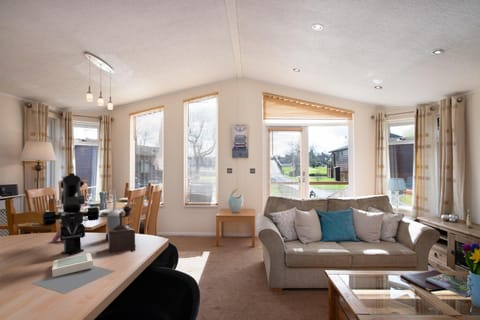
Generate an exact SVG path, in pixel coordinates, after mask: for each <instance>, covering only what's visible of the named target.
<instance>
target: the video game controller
mask: <svg viewBox="0 0 480 320" xmlns="http://www.w3.org/2000/svg"><path fill="white" fill-rule="evenodd" d="M62 237H63V236H62ZM58 240H60V241H61V229H59V230H58V231H57V232H56V234H55V235H54V236H53V238H52V239H51V241H52V243H57V241H58ZM62 241H63V242H64V240H62ZM62 241H61V242H62Z"/></svg>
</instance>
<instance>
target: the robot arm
mask: <svg viewBox="0 0 480 320" xmlns="http://www.w3.org/2000/svg"><path fill="white" fill-rule="evenodd" d="M62 178H63V179H62V180H60V189H62V190H61V192H60V195H61V196H60V197H61V205H62V207H63V209H62V210H63V212H61V213H56V210H50V211H44V212H43V213H42V222H43V223H42V224H43V226H45V227H46V226H54V225H55V224H57V221H59V220H61V221H60V223H61V225H60V230H61V240H60V241H61V242H62V240H64V241H63V243H64V244H63V247H64V250H63V251H61V252H60V254H62V255H67V256H72V255H74V254H78V253H81V252H83V251H85V249H83V248H82V244H81V242H82V241H81V239H82V238H85V237H86V226H85V225H84V217H87V220H88V221H90V222H91V221H97V220H99V216H100V208H99V207H98V206H93V207H87V210H85V211H81V208H82V207H81V206H82V205H85V203H86V201H85V200H86V199H85V195H83V194H82V192H81V188H82V187H83V185H84V184H85V183H84V181H83V180H82V179H81V178H80V176H78V175H76V174H75V173H73V172H72V173H68V175H66V176H65V177H62ZM62 236H63V237H62Z"/></svg>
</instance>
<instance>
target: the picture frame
mask: <svg viewBox="0 0 480 320" xmlns="http://www.w3.org/2000/svg"><path fill="white" fill-rule="evenodd" d="M93 266H94V261H93V257H92V253H90V252H89V253H83V254H80V255H79V254H78V255H74V256H70V257H63V258H60V259H56V260H53V264H52V268H51V270H52V272H51V273H52V275H53V277H56V276H60V275H64V274H68V273H72V272H77V271H81V270H85V269H89V268H93Z"/></svg>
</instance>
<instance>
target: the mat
mask: <svg viewBox="0 0 480 320" xmlns="http://www.w3.org/2000/svg"><path fill="white" fill-rule="evenodd" d="M115 272H116V270H113V269H109V268H105V267H100V266H96V265H93V268H89V269H85V270H81V271H77V272H72V273H68V274H64V275H60V276H56V277H53V274H52V275H49V276H47V277H44V278H41V279H39V280H35V281H33V282H31V284H32V285H35V286H38V287H42V288H43V289H47V290H48V289H49V290H52V291H54V292H57V293H59V294H64V295H65V294H69V293H71V292H72V291H75V290H78V289H79V288H81V287H84V286H86V285H88V284H90V283H92V282H95V281H97V280H99V279H101V278H104V277H106V276H108V275H110V274H112V273H115Z"/></svg>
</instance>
